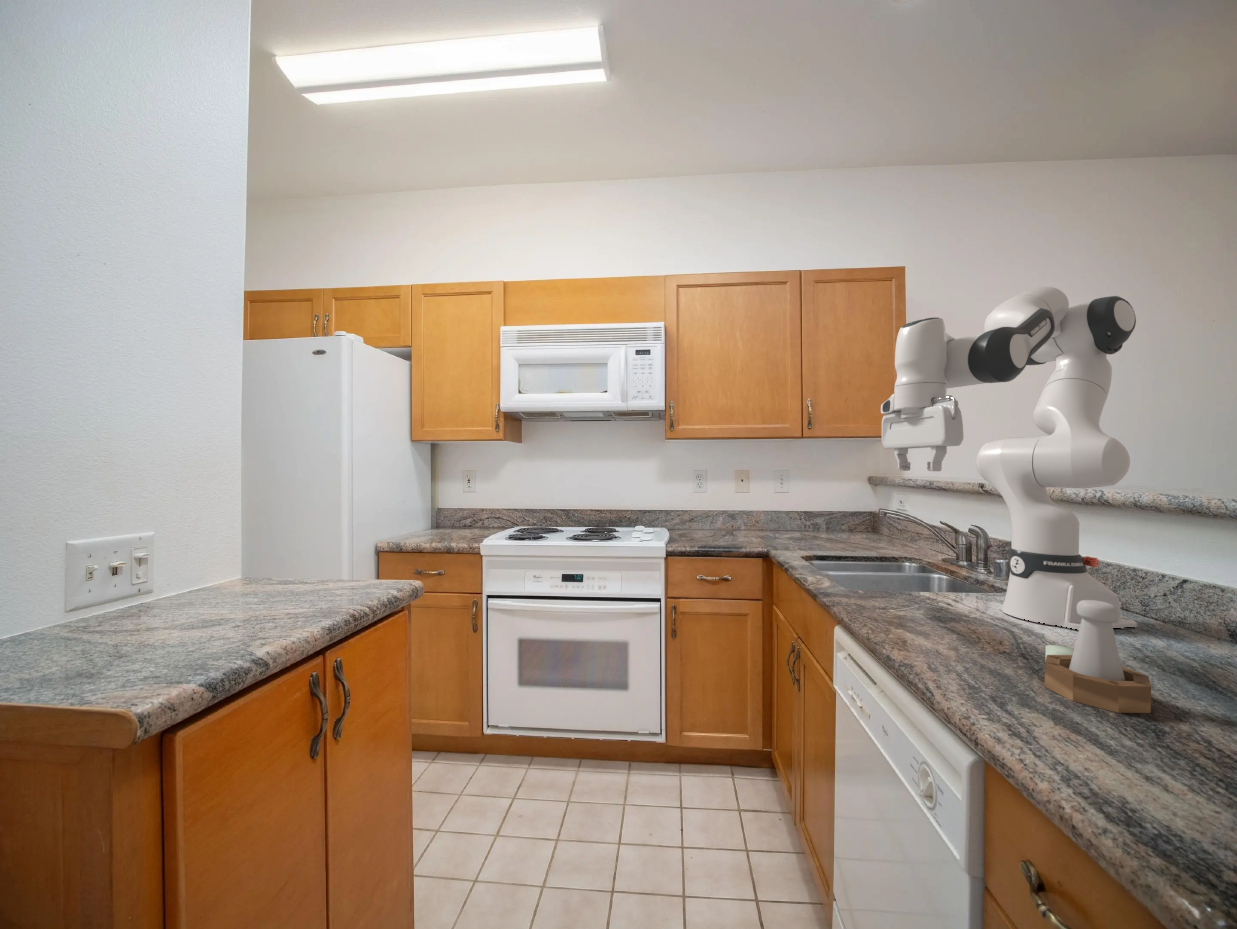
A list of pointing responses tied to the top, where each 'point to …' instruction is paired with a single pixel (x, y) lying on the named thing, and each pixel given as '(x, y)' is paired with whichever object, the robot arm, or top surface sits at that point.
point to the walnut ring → (1098, 687)
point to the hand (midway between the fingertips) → (918, 471)
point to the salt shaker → (1097, 642)
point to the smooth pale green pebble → (1058, 650)
